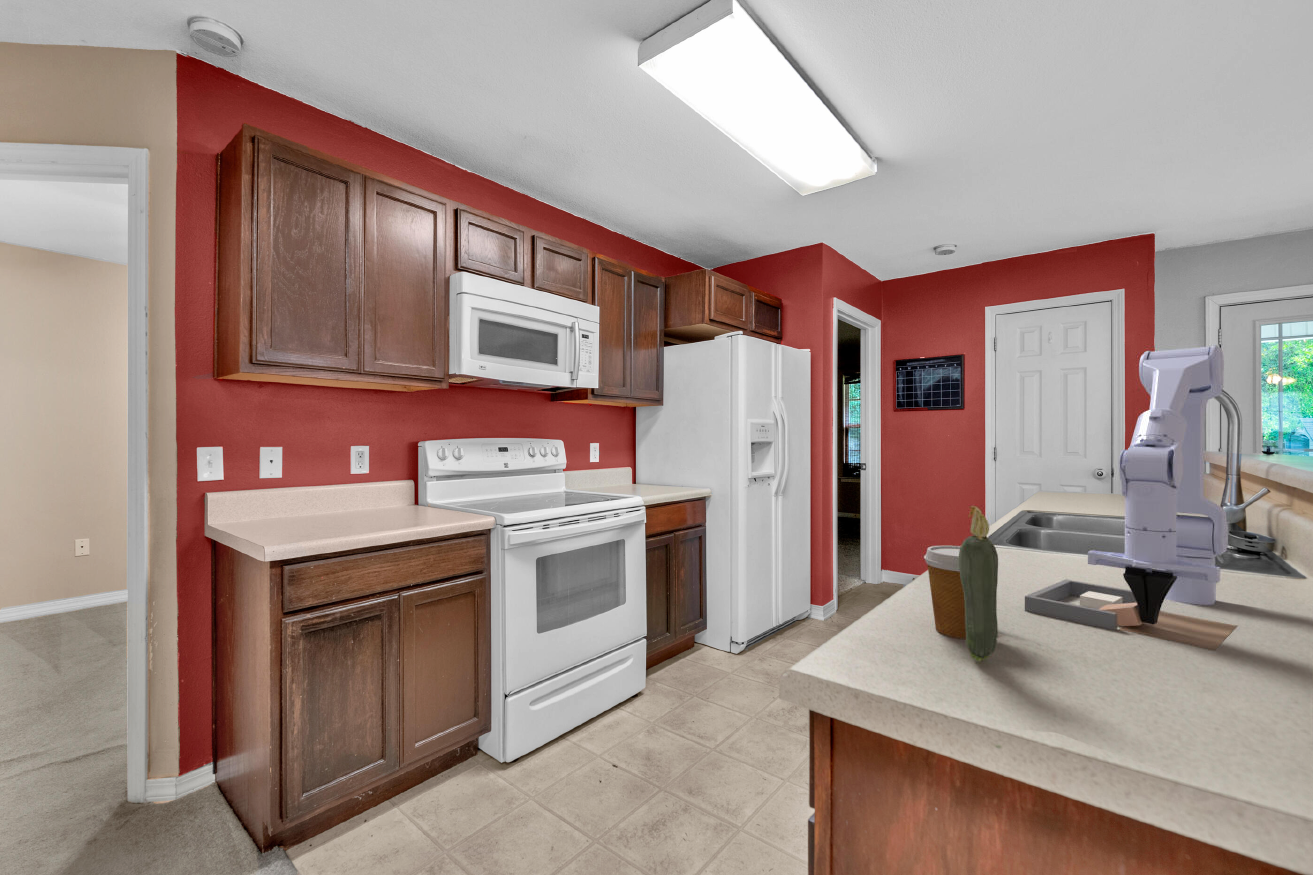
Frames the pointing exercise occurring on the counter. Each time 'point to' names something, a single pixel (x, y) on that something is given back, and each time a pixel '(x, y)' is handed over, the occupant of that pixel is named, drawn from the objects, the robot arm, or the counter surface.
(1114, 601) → the cream tile
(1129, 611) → the terracotta tile
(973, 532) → the vegetable
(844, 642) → the counter surface
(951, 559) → the disposable coffee cup
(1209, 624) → the walnut plate
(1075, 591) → the tray
